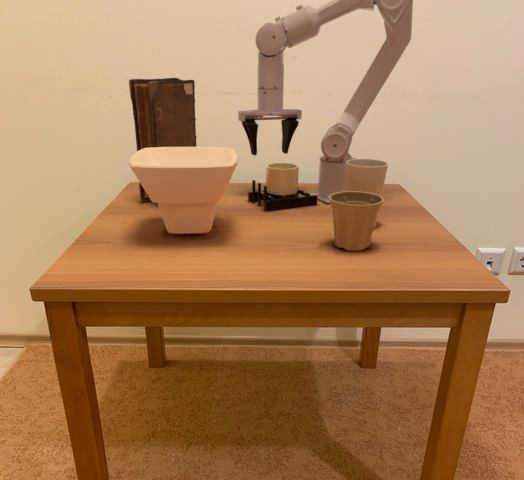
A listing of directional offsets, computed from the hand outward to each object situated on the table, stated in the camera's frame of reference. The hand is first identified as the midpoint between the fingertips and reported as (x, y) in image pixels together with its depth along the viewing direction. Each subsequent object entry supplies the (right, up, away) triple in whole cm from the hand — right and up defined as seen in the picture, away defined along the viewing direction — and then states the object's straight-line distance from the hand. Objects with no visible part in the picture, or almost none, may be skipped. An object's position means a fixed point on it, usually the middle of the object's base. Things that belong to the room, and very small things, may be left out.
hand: (269, 153), depth 119 cm
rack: (+3, -12, -2) cm, 13 cm away
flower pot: (+15, -27, -26) cm, 41 cm away
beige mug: (+2, -9, -2) cm, 9 cm away
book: (-22, -10, +2) cm, 25 cm away
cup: (+18, -21, -15) cm, 31 cm away
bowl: (-16, -23, -20) cm, 34 cm away
